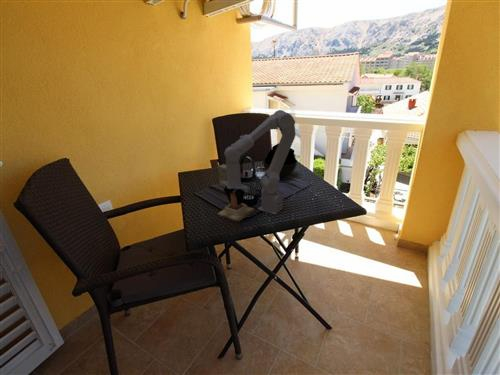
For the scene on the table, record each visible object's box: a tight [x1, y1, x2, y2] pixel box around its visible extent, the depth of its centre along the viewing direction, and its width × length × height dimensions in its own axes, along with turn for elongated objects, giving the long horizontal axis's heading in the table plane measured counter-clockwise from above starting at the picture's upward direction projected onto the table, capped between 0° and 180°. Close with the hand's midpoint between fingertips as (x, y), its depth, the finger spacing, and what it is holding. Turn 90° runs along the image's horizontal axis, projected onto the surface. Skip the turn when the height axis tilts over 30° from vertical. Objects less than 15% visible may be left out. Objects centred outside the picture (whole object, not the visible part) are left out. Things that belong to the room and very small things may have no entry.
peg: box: [230, 190, 240, 210], centre depth 118 cm, size 4×4×8 cm
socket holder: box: [217, 202, 255, 222], centre depth 120 cm, size 12×12×3 cm
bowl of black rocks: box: [262, 142, 298, 179], centre depth 155 cm, size 20×20×19 cm
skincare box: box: [217, 163, 227, 189], centre depth 147 cm, size 6×4×12 cm
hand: (235, 203), depth 118 cm, fingers closed on peg, 4 cm apart
